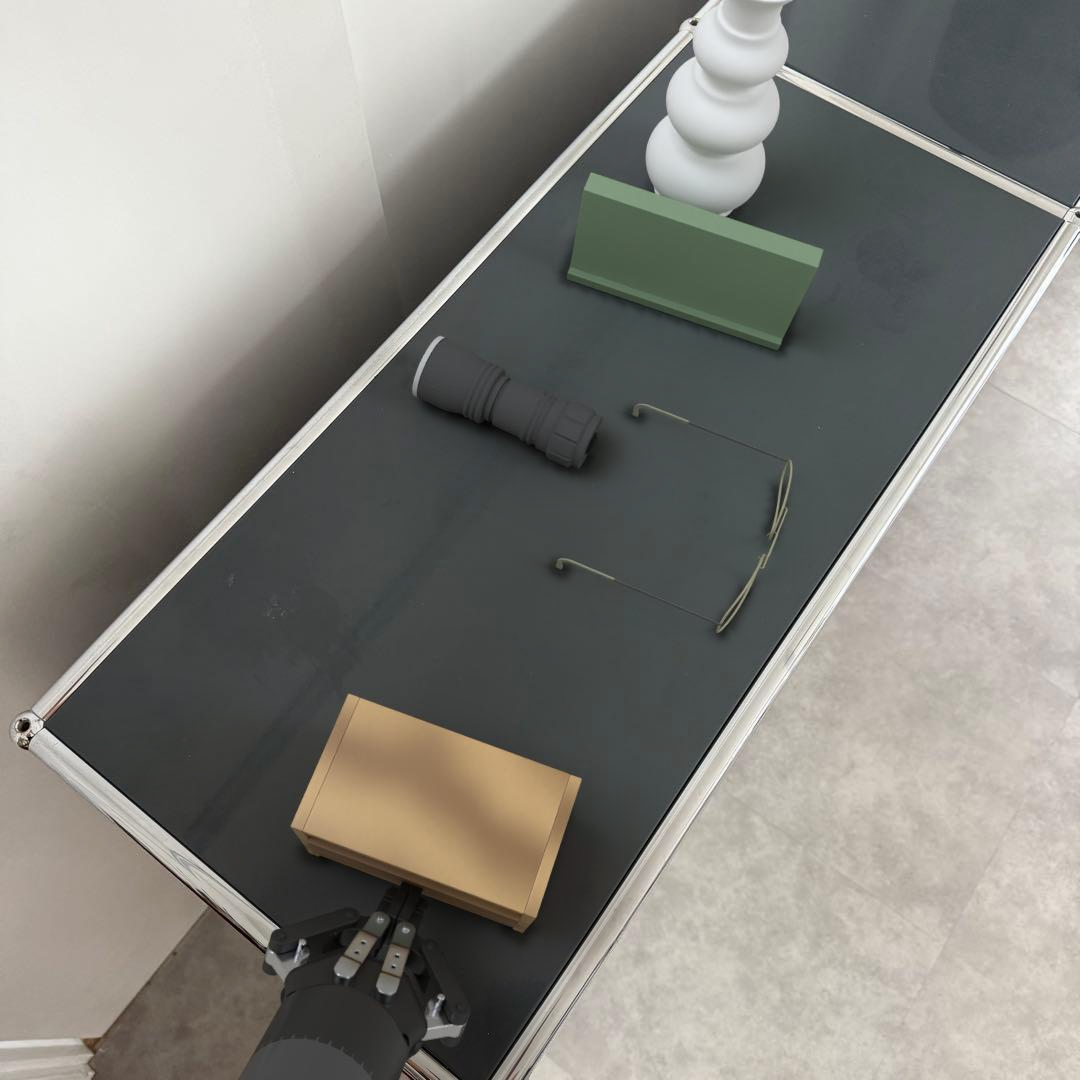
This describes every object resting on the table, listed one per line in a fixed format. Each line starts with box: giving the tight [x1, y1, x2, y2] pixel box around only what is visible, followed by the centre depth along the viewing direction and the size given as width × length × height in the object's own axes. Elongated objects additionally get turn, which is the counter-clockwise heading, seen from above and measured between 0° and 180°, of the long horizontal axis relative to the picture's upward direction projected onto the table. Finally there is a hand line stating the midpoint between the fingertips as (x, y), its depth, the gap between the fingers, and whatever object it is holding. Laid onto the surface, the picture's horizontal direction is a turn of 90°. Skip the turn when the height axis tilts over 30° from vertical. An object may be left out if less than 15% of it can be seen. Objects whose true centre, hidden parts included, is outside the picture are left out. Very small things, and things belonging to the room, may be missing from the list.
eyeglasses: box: [555, 403, 793, 634], centre depth 88 cm, size 16×15×5 cm
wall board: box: [566, 172, 824, 352], centre depth 95 cm, size 5×20×11 cm, turn 71°
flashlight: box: [411, 335, 604, 469], centre depth 90 cm, size 15×5×5 cm, turn 64°
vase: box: [645, 0, 794, 217], centre depth 93 cm, size 11×11×25 cm
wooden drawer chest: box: [290, 693, 583, 934], centre depth 74 cm, size 9×16×11 cm, turn 71°
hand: (409, 895), depth 72 cm, fingers closed
